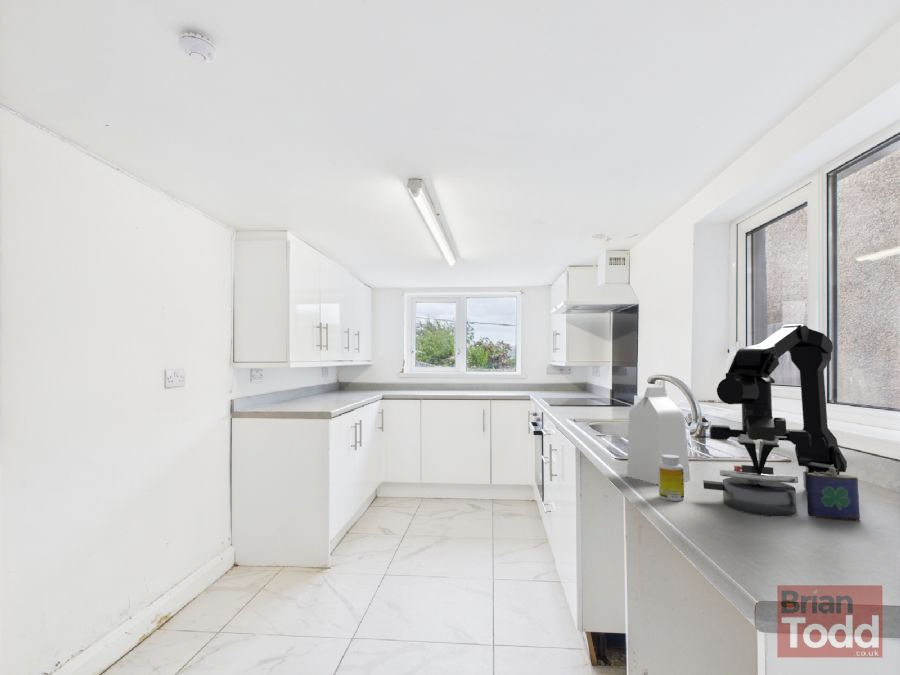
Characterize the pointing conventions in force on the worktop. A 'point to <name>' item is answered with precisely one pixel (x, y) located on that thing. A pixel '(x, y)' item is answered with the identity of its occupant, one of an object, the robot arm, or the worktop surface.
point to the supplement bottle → (671, 478)
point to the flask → (832, 495)
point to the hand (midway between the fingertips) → (758, 473)
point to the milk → (655, 435)
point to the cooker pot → (756, 496)
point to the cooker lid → (751, 474)
